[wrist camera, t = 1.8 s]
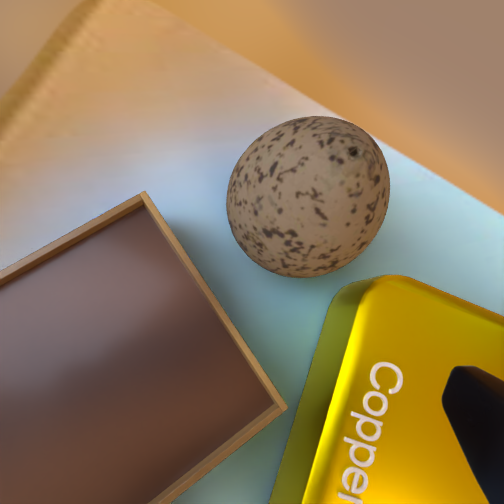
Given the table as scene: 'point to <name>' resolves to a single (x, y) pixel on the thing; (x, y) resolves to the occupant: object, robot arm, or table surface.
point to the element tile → (387, 398)
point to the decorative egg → (308, 196)
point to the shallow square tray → (119, 368)
